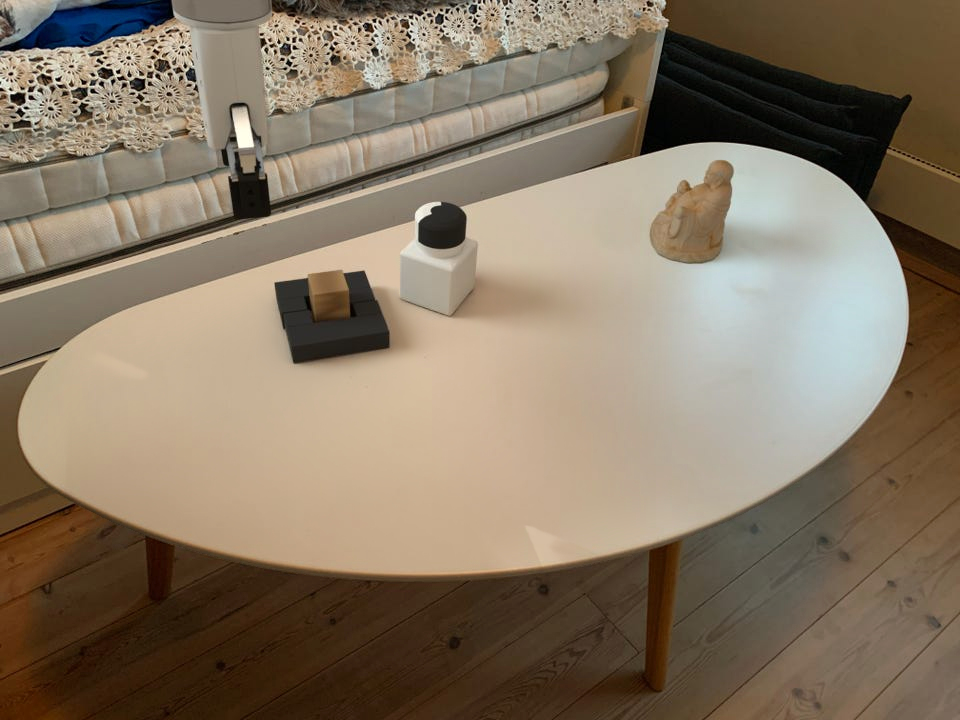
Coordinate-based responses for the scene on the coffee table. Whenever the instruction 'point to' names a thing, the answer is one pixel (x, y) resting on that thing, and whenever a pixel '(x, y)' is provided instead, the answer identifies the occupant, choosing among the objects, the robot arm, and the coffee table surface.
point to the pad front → (336, 333)
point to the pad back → (298, 299)
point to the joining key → (328, 296)
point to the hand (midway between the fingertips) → (246, 188)
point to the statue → (695, 217)
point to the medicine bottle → (438, 259)
